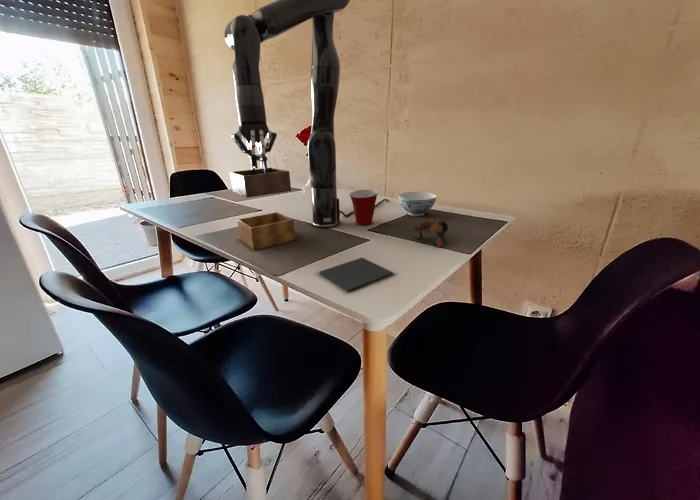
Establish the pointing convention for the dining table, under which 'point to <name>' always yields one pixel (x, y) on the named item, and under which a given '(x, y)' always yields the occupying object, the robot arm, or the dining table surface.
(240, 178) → the box
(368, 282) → the mat
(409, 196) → the chinaware
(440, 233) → the brown toy animal
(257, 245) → the box
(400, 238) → the dining table surface
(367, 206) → the plastic cup
